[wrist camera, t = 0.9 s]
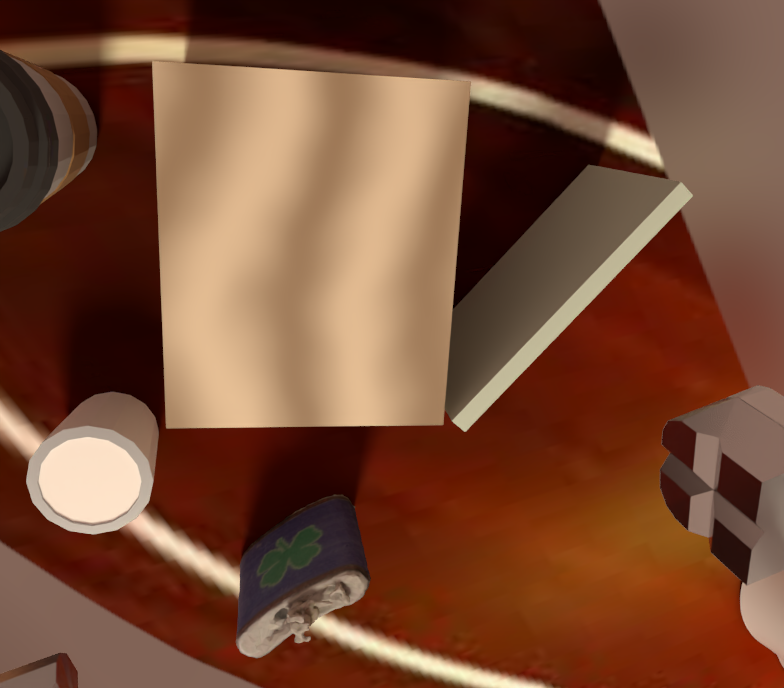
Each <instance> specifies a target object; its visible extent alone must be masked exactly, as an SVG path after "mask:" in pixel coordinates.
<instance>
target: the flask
mask: <svg viewBox="0 0 784 688" xmlns="http://www.w3.org/2000/svg"><path fill="white" fill-rule="evenodd" d="M370 579H371V578H370V575H369V571H368V568H367V561H366V558H365V554H364V548H363V545H362V542H361V535H360V530H359V527H358V522H357V517H356V512H355V506H353V505H352V503H351V501H350V500H349V498H348V497H345V496H344V495H333V496H330V497H325V498H322V499H321V500H318V501H316V502H314V503H311V504H309V505H307V506H306V507H304V508H300V510H297V511H295V513H293V514H292V515H289V516H288V517H286V518H285V520H283V521H282V522H281V523H279V524H277V525H276V526H274V527H273V528H272V529H270V530H269V531H267V533H266V534H264V535H262V536H261V537H260V538H258V539H257V540H256V541H255V542H253V543H252V544H250V546H249V547H248V549H247V550H246V551H245V552H244V555H243V556H242V559H241V563H240V593H239V606H238V629H237V638H236V644H237V647H238V649H239V650H240V652H241V653H242V654H245V655H247V656H249V657H254V658H259V657H262V656H264V655H266V654H267V653H269V652H271V651H272V650H273V649H274V648H275V647H276V646H277V645H279V644H280V643H281V642H282V641H283V640H284V639H286V638H287V637H289V636H290V635H291V634H295V635H296V637H295V642H297V643H301V642H303V641H307V642H308V641H309V640H310V639H311V637H305V636H304V631H308V630H310V629H309V627H308V626H311V624H312V623H314V622H315V620H316V619H317V618H318V617H320V616H322V615H324V614H327V613H329V612H330V611H332V610H334V609H337V608H341V607H343V606H347V605H351V604H353V603H354V602H356V601H357V600H359V599H361V598H362V597H363V596H364V594H365V591H366V590H367V589H368V587H369V582H370Z"/></svg>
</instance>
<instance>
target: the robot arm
mask: <svg viewBox="0 0 784 688" xmlns="http://www.w3.org/2000/svg"><path fill="white" fill-rule="evenodd" d="M662 445H663V446H664V447H665V449H666V450H667V451H668V452H669V453H670V454H669V455H668V457H667V459H666V460H665V462H664V464H663V465H662V467H661V469H660V489H661V492H662V495H663V497H664V500H665V503H666V506H667V507H668V509H669V510H670V511H671V513H672V514H673V516H674V517H675V519H676V520H677V521H678V522H679V523H680V524H681V525H682V526H684V527H685V528H686V529H687V530H688V531H690V532H693V533H696V534H699V535H702V536H705V537H708V538H709V543H710V550H711V553H712V554H713V555H714V556H715V557H716V558H717V559H719V560H720V561H721V562H722V563H723V564H724V565H725V566H726V567H727V568H728V569H729V570H730V571H731V572H733V573H734V574H735V575H736V576H737V577H738V578H739V579H740V580H741V581H742V582H743V583H742V587H741V593H740V608H741V614H742V618H743V621H744V623H745V625H746V627H747V629H748V630H749V632H750V633H751V634H752V636H753V637H754V638H755V639H756V640H757V641H759V642H760V643H761V644H763V645H764V646H766V647H767V648H769V649H770V650H771V651H773V652H774V653H775V654H777V656H778V658H779V660H780V662H781V664H782V666H783V668H784V397H783V396H782V395H780V394H779V393H777V392H775V391H774V390H772V389H771V388H768V387H763V386H755V387H752V388H750V389H747V390H745V391H742V392H740V393H737V394H734V395H732V396H729V397H728V398H726V399H722V400H719V401H717V402H714V403H712V404H709V405H707V406H704V407H702V408H699V409H696V410H694V411H691V412H689V413H686V414H684V415H681V416H679V417H676V418H674V419H671V420H668V422H667V423H666V425H665V427H664V429H663V432H662ZM0 688H78V673H77V670H76V668H75V667H74V665H73V664H72V662H71V660H70V658H69V657H68V655H67V654H66V653H58V654H55V655H52V656H50V657H47V658H44V659H41V660H38V661H36V662H33V663H30V664H28V665H24V666H22V667H19V668H16V669H13V670H10V671H7V672H5V673H2V674H0Z"/></svg>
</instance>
